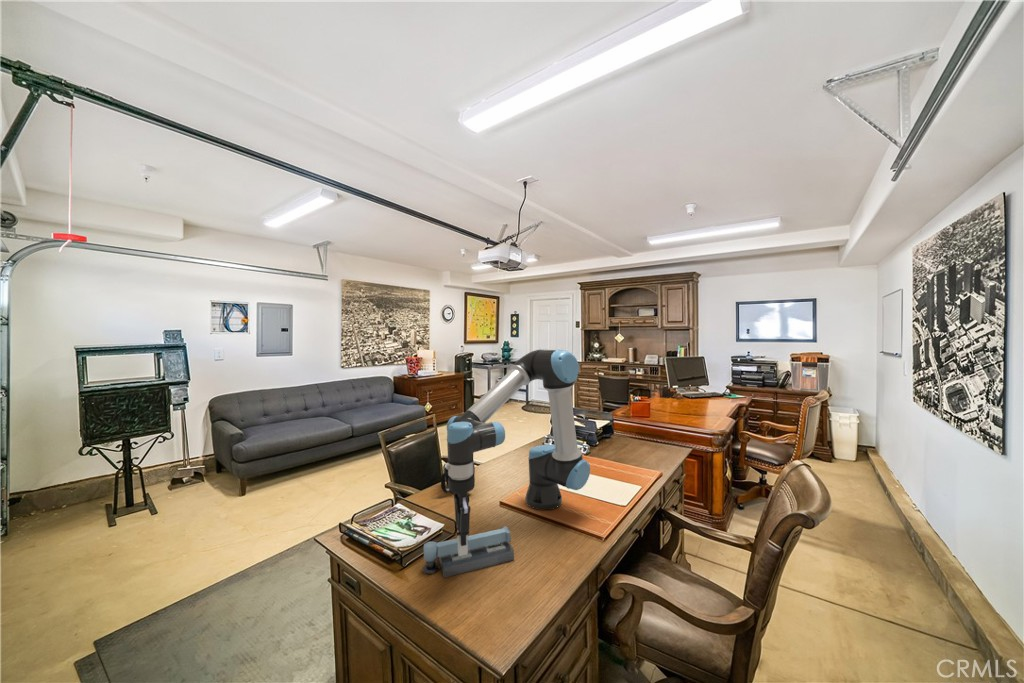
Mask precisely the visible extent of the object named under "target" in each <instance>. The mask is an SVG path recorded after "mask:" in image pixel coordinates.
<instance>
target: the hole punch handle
mask: <svg viewBox="0 0 1024 683" xmlns="http://www.w3.org/2000/svg"><path fill="white" fill-rule="evenodd" d="M511 539H512V538H511V531H510V530H509V527H508V526H503V527H502V528H498V529H494V530H489V531H484V532H480V533H475V534H471V535H467V542H468V550H470V549H474V548H478V547H483V546H487V545H491V544H496V543H500V542H504V541H507V542H509V543H510V542H511ZM457 552H458V540H457V538H452V539H449V540H443V541H439V542H436V541H427V542H426V543H424V544H423V560H424V561H425V562H426V561H427V562H431V561H434V560H436V561H437V559H438V558H439V557H440V556H444V555H448V554H453V553H457Z"/></svg>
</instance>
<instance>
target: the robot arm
mask: <svg viewBox="0 0 1024 683" xmlns="http://www.w3.org/2000/svg"><path fill="white" fill-rule="evenodd" d="M579 373H580V365H579V362H578V359H577V358H576V356H575V355H574V354H573V353H572V352H571V351H569V350H563V349H535V350H532V351H530V352H528V353H527V354H525V355H523V356H521V357H520V358H519V359H518V360H516V361H515V362H514V363H513V364H512V365H511V366H510V367H509V371H508V372H507V373H505V375H504V376H502V378H500V380H498V381H497V382H496V383H495V384H494V385H493V386H492V387H491V388H489V389H488V391H486V392H485V393H484V394H483V395H482V396H481V397H480V398H479V399H477V401H476V402H475V403H473V404H472V406H469V408H468V409H467V410H466V411H465V412H464V413H462V414H461V415H454V416H451V417H450V418H449V420H448V421H447V423H446V444H447V463H448V465H449V466H446V469H447V470H448V475H449V477H448V487H447V488H449V490H450V491H451V492H453V493H452V494H453V499H454V500H453V501H454V502H453V503H454V516H455V519H454V520H455V526H456V530H457V531H456V532H455V534H456V536H457V537H456V539H457V540H458V555H459V556H462V555H466V554H468V542H467V536H470V535H469V534H470V518H471V514H470V513H471V506H470V505H469V502H470V496H469V495H468V493H469V492H471V491H473V490H474V488H475V485H474V476H475V475H474V476H473V473H474V466H475V462H474V453H476V452H480V451H483V450H487V449H491V448H495V447H497V446H499V445H502V444H504V442H505V440H506V431H505V430H506V429H505V427H504V425H503V424H502V423H501V422H499V421H490V422H488V420H490V419H491V418H492V417H493V416H494V414H496V412H498V411H499V410H500V409H501V408H502V407H503V406H504V405H505V404H506V403H507V402H508V401H509V400H510V399H511V398H512V397H513V396H514V395H515V394H516V393H517V392H518V391H519V390H520V389H521V388H522V387H523V386H528V385H529V384H530V383H531V382H533V381H535V380H541V381H542V385H543V389H544V390H546V391H547V394H548V401H549V410H550V417H551V426H552V433H553V434H552V435H553V441H554V442H553V443H554V445H553V444H541V445H537V446H534V447H532V448H530V449H529V451H528V472H529V473H528V477H529V478H528V479H529V484H528V488H527V491H526V494H525V503H526V502H527V503H526V505H527V504H528V505H530V506H531V507H530V506H529V507H530V508H532V507H534V508H537V509H536V510H539V509H550V510H554V509H557V508H558V507H557V506H559V505H560V504H561V503H563V496H562V493H561V490H560V488H559V485H560V486H562V487H565V488H566V489H569V490H573V491H579V490H581V489H583V488H584V487H585V485H586V484H587V482H588V480H589V478H590V474H591V465H590V463H589V462H588V461H587V460H586V459H584V458H583V452H582V450H581V448H578V442H577V434H576V425H575V416H574V407H573V399H572V390H571V389H572V388H573V387H574V385H575V383H574V382H575V381H576V380H577V379H578V377H579ZM473 487H474V488H473ZM472 489H473V490H472ZM528 505H527V506H528ZM561 505H562V504H561ZM561 505H560V506H561ZM560 506H559V507H560ZM556 507H557V508H556ZM534 508H533V509H534ZM553 508H554V509H553Z"/></svg>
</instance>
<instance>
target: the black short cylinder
mask: <svg viewBox="0 0 1024 683" xmlns="http://www.w3.org/2000/svg"><path fill="white" fill-rule="evenodd" d="M436 561H437V559H436V560H434V561H431V562H427V561H425V564H423V566H422V572H423V574H424V575H429V576H430V575H434V574H436V573H437V572H439V570H440V563H439V562H436Z"/></svg>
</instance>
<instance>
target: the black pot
mask: <svg viewBox="0 0 1024 683" xmlns="http://www.w3.org/2000/svg"><path fill="white" fill-rule="evenodd" d="M446 466H449V465H448V462H446V463H444V464H443V467H442V469H443V470H442V471H443V473H442V474H441V475H440V486H441V487H440V488H441V489H442V492H444V493H451V494H453V492H451V491H450V490H449V488H448V477H449V475H448V470H447V469H446ZM475 468H476V467H475V465H474V473H473V476H474V487H473V489H472V490H471V491H473V490H474V488H475V483H476V482H475V480H476V479H475V473H476V472H475V470H476V469H475ZM446 487H447V488H446Z"/></svg>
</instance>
